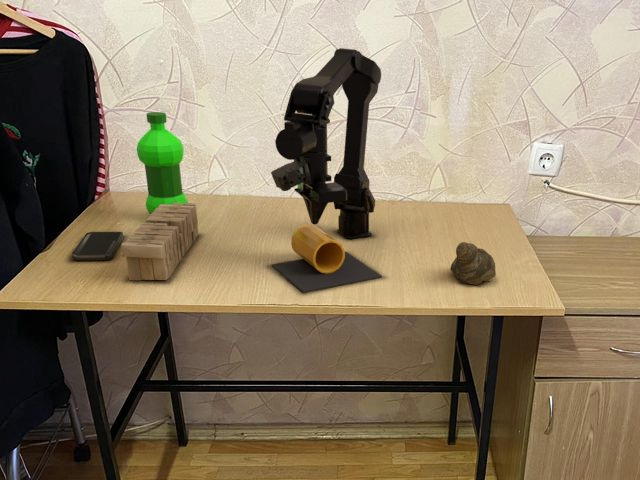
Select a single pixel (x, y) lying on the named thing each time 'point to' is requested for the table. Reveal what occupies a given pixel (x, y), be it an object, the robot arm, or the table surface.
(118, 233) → the phone
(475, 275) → the seashell
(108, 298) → the table surface
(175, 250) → the block tower
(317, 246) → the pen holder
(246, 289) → the table surface
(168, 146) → the plastic bottle
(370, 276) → the mat
